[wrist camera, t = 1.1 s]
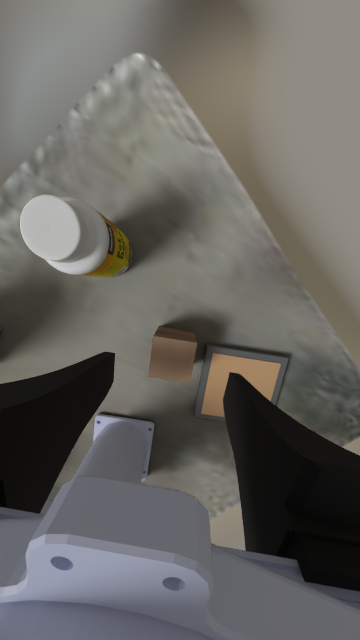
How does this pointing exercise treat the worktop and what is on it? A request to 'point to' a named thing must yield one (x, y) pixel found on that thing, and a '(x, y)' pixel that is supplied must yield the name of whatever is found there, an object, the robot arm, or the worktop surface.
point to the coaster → (250, 364)
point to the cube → (173, 354)
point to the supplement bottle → (74, 237)
